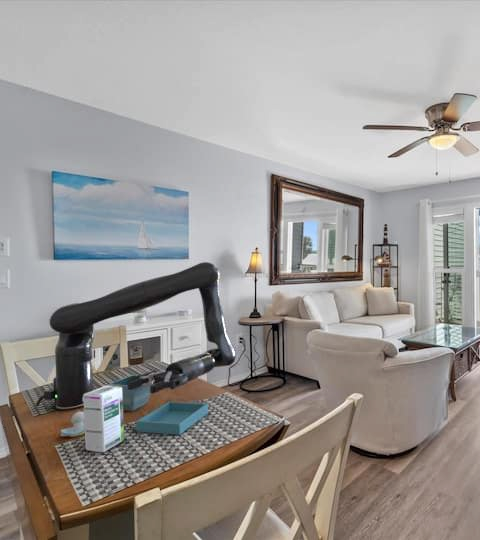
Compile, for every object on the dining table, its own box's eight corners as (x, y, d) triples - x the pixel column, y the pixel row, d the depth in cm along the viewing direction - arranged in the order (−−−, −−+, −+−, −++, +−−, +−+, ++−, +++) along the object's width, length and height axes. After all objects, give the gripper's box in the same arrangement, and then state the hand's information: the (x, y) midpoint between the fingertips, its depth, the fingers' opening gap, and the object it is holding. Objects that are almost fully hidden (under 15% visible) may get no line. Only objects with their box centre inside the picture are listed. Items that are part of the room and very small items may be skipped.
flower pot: (155, 402, 111) (154, 376, 111) (133, 414, 102) (132, 385, 102) (131, 401, 112) (131, 374, 112) (108, 412, 104) (107, 384, 103)
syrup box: (103, 453, 82) (102, 394, 81) (84, 450, 83) (82, 392, 82) (124, 440, 87) (123, 386, 87) (106, 438, 88) (104, 384, 88)
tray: (135, 431, 92) (135, 421, 92) (169, 410, 105) (169, 401, 105) (179, 434, 90) (179, 424, 90) (208, 412, 103) (208, 403, 103)
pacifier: (56, 436, 90) (64, 442, 87) (55, 413, 90) (63, 418, 87) (89, 425, 96) (98, 430, 93) (88, 403, 96) (97, 408, 93)
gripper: (168, 357, 112) (121, 372, 96) (203, 361, 107) (158, 377, 92) (169, 379, 112) (121, 398, 96) (203, 384, 107) (159, 404, 92)
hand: (139, 388), depth 94 cm, fingers open, 8 cm apart
